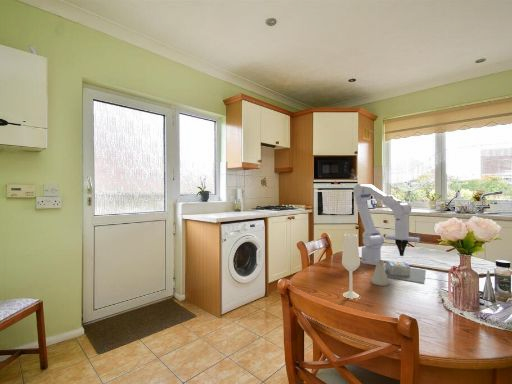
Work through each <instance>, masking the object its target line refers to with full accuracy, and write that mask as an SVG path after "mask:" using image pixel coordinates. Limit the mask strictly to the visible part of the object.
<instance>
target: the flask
mask: <svg viewBox="0 0 512 384" xmlns="http://www.w3.org/2000/svg"><path fill="white" fill-rule="evenodd" d="M375 261H376V265H375V269H374V272H373V274H372V277H371V279H370V282H371V284H373V285H376V286H381V287H383V286H384V287H385V286H388V285H390V282H389V281H390V280H389V278H387V276H386V273H385V271H384V262H385V260H382V259H381V260H375Z"/></svg>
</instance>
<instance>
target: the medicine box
mask: <svg viewBox="0 0 512 384" xmlns="http://www.w3.org/2000/svg"><path fill="white" fill-rule="evenodd" d="M385 264H386V270H387V271H388V272H389V273H390V274H391V275H404V276H410V268H411V266H410V265H409V264H408V263H406V262H405V261H394V260H393V261H392V260H391V261H390V260H387V261H385Z"/></svg>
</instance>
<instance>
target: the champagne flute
mask: <svg viewBox="0 0 512 384" xmlns="http://www.w3.org/2000/svg"><path fill="white" fill-rule="evenodd" d="M358 239H359V238H358V234H354V233H344V235H343V244H342V245H343V246H342V255H341V256H342V257H341V264H342V266H343V268H345V269H346V270H347V271H348V272H349V273H348V276H349V279H348V280H349V286H348V287H349V289H348V291H346V292H343V293H342V294H343V296H344V297H346V298H345V299H347V298H351V299H353V298H358V297H359V296H360V294H358V293H357V292H355V291H354V290H353V287H354V286H353V283H354V282H353V281H354V280H353V272H354V271H356V270H357V269H359V267H360V265H361V259H360V251H359V250H360V249H359V240H358ZM343 296H342V297H343ZM344 297H343V298H344ZM351 299H350V300H351Z"/></svg>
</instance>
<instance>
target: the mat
mask: <svg viewBox="0 0 512 384" xmlns="http://www.w3.org/2000/svg"><path fill="white" fill-rule="evenodd" d="M383 267H384V271H385V273H386V276H387V278H388V279H394V280H399V281H405V282H410V283H411V282H412V283H418V284H423V285H424V284H425V278H426V272H427V271H426V269H421V268H414V267H410V276H404V275H391V274H390V273H389V272H388V271H387V270H386V263H385V264H384V265H383Z"/></svg>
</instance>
